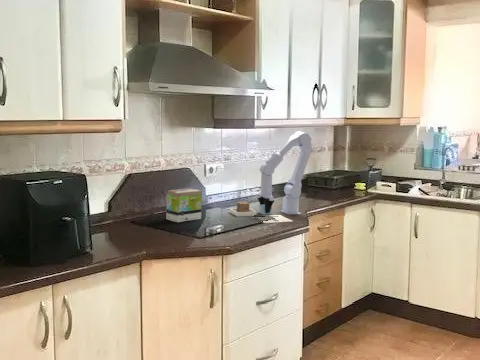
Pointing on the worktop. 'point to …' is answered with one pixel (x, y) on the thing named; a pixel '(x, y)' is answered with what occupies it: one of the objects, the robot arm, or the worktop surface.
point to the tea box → (183, 205)
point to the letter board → (277, 219)
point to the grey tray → (250, 213)
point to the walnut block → (242, 207)
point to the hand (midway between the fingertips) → (265, 211)
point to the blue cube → (263, 210)
